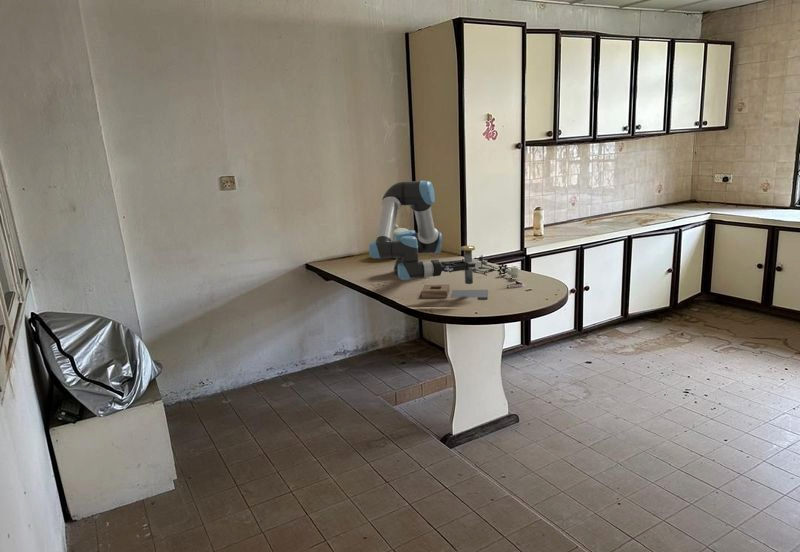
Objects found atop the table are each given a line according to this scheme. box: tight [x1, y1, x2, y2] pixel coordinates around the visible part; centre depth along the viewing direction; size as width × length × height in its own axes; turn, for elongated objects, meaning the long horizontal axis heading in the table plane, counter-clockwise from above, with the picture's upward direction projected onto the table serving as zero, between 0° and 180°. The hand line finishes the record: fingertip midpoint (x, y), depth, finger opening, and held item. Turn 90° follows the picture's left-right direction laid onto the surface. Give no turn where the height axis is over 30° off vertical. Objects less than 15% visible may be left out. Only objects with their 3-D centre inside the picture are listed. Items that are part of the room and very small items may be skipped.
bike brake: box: [473, 254, 499, 274], centre depth 312 cm, size 14×7×20 cm
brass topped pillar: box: [460, 245, 476, 285], centre depth 261 cm, size 6×6×17 cm
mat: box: [450, 289, 489, 300], centre depth 265 cm, size 13×17×1 cm
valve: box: [496, 263, 519, 278], centre depth 293 cm, size 7×7×12 cm
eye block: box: [421, 283, 450, 299], centre depth 268 cm, size 12×12×4 cm
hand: (479, 263), depth 262 cm, fingers closed on brass topped pillar, 3 cm apart
